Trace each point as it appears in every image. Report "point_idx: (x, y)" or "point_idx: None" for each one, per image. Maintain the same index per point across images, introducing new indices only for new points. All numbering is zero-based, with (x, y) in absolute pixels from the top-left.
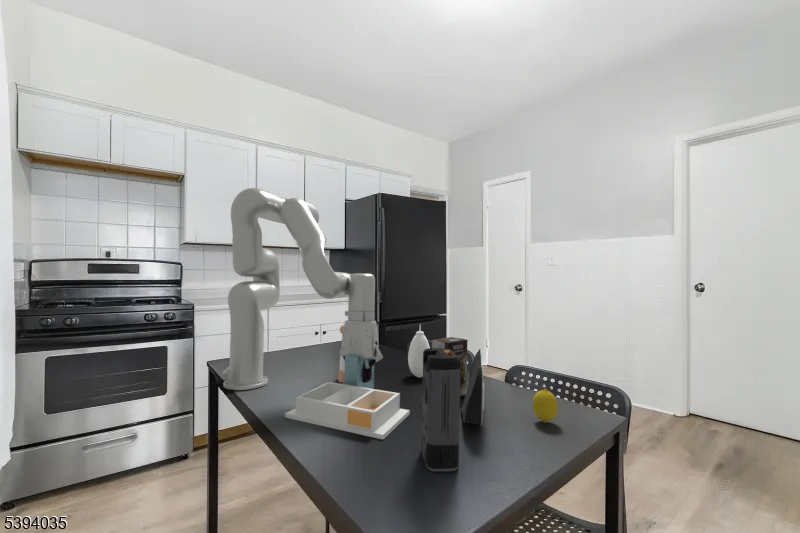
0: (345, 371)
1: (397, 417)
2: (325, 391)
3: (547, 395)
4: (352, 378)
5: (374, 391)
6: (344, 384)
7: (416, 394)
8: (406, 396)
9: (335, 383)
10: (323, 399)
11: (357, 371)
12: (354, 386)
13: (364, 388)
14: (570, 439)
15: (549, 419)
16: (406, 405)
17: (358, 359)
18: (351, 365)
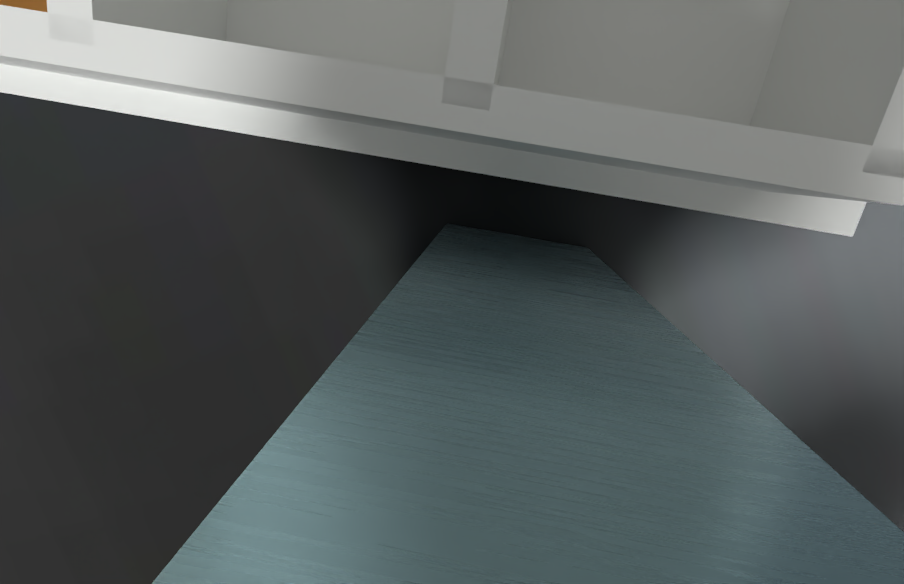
0: (688, 354)
1: None
2: (837, 47)
3: None
4: (501, 288)
5: (60, 19)
6: (589, 145)
7: (65, 510)
8: (112, 455)
9: (757, 148)
10: (791, 26)
11: (374, 316)
12: (398, 97)
13: (215, 49)
14: None
15: None
16: (25, 268)
17: (210, 577)
18: (553, 401)
